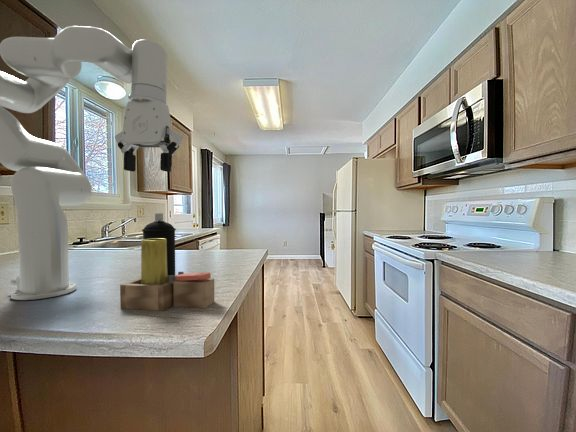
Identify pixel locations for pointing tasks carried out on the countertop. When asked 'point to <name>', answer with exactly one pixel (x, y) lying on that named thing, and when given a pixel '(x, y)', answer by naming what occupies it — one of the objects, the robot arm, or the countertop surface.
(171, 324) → the countertop surface
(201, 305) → the block
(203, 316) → the countertop surface
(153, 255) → the vase
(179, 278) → the keeper bar
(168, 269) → the aerosol can
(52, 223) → the robot arm
